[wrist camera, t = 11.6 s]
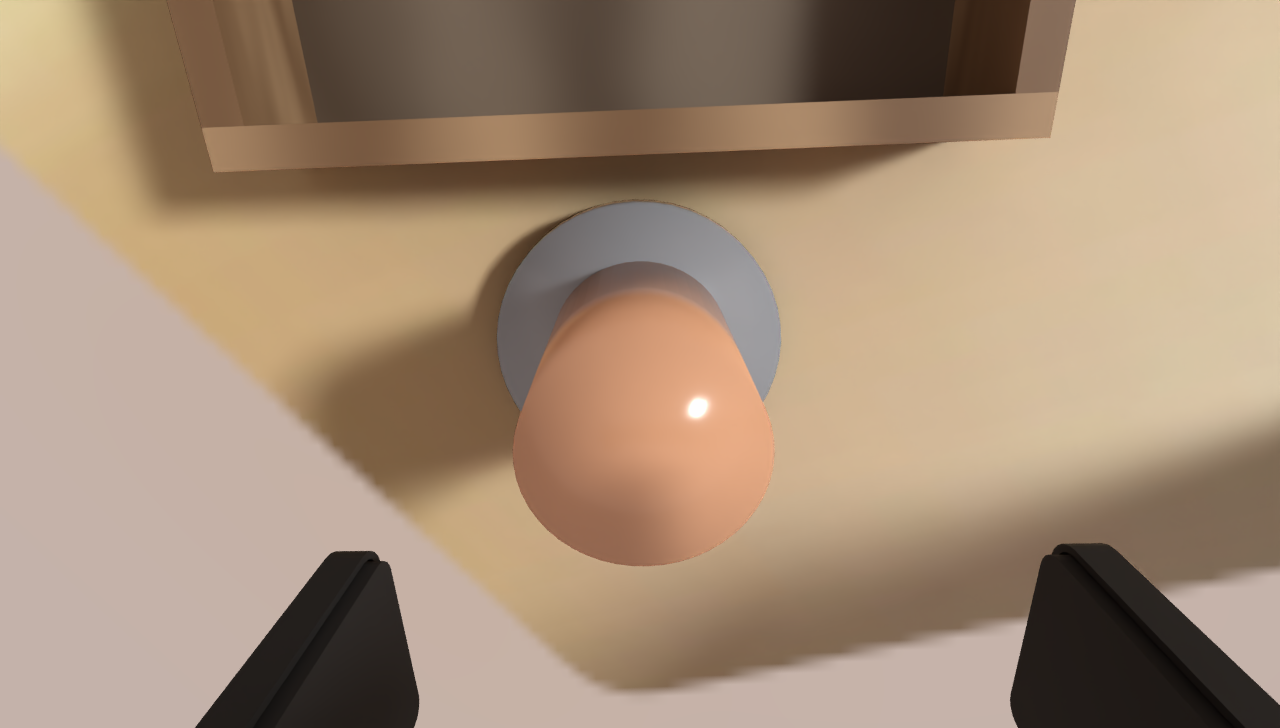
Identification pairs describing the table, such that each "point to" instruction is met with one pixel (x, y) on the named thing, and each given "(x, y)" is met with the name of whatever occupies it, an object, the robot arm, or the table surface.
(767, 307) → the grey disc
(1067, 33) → the wooden box
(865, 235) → the table surface
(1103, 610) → the robot arm
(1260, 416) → the table surface
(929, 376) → the table surface
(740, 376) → the peach rounded knob
